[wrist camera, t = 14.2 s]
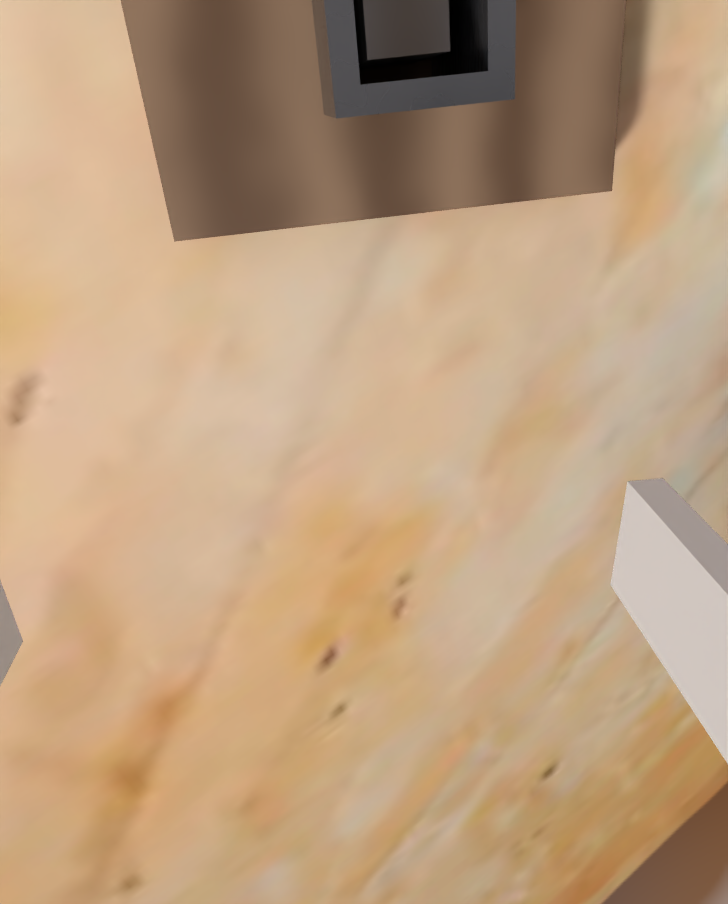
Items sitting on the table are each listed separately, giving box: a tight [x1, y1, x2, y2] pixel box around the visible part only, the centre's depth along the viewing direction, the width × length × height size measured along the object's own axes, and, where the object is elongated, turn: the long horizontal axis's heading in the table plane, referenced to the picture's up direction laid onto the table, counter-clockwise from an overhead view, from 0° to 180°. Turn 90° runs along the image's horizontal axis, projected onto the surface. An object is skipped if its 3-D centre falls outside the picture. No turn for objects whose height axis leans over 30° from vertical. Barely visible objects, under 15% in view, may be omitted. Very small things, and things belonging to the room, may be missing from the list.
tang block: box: [121, 0, 626, 241], centre depth 28 cm, size 22×16×10 cm
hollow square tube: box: [312, 0, 516, 119], centre depth 25 cm, size 6×6×10 cm
